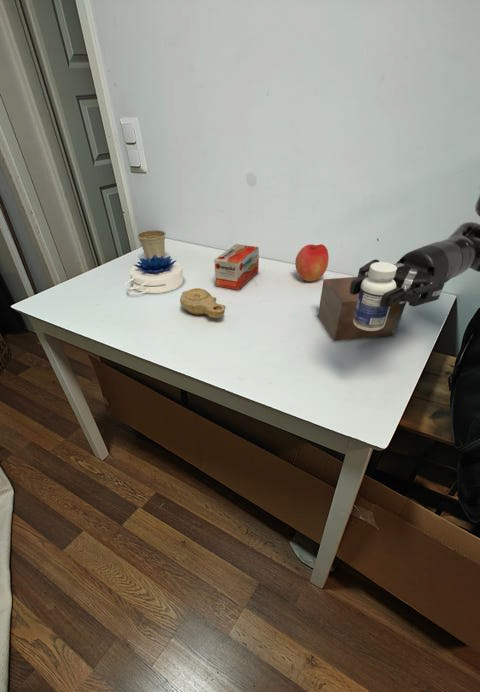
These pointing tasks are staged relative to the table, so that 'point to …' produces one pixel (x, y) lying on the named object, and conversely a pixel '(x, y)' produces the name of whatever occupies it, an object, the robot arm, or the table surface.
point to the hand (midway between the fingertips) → (367, 294)
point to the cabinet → (348, 312)
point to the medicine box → (236, 266)
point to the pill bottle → (374, 297)
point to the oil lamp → (201, 303)
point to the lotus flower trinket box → (155, 275)
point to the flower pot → (153, 243)
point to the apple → (312, 262)
